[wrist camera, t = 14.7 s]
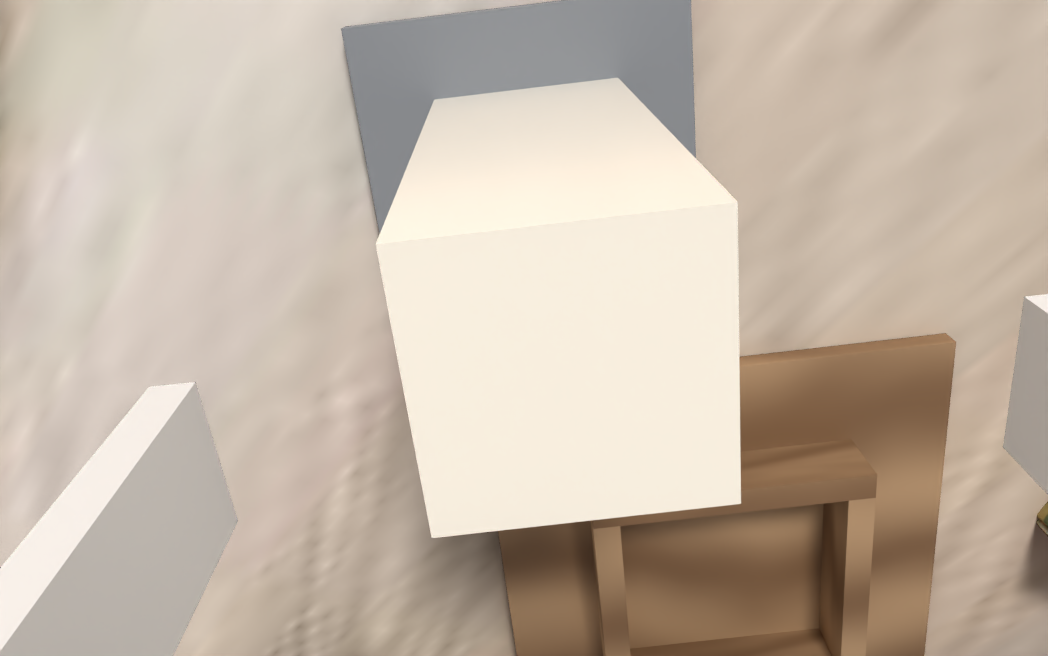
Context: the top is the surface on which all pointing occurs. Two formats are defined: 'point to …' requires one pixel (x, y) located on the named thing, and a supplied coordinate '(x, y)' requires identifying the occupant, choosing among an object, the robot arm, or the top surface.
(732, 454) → the cream block
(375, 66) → the slate mat
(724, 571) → the pocket tray
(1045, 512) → the carton
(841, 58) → the top surface
